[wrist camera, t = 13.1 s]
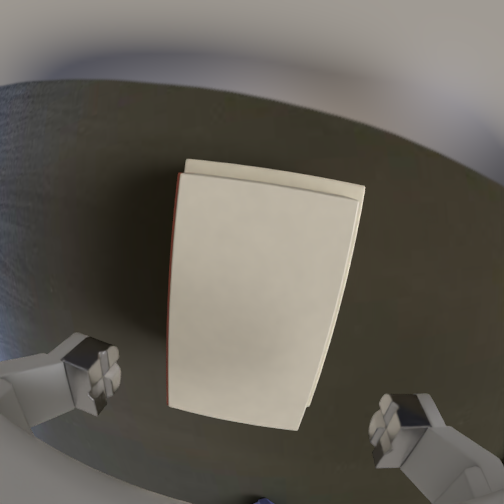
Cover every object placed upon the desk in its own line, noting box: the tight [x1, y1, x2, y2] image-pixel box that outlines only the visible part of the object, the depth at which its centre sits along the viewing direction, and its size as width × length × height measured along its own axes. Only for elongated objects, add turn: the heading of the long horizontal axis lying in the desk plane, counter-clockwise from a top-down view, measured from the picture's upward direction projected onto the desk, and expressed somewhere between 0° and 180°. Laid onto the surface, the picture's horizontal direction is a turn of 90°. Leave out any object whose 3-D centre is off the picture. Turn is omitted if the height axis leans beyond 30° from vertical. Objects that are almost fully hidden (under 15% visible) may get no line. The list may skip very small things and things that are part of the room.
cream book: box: [166, 173, 359, 430], centre depth 13 cm, size 11×7×2 cm, turn 172°
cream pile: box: [184, 159, 365, 407], centre depth 16 cm, size 12×8×4 cm, turn 172°
